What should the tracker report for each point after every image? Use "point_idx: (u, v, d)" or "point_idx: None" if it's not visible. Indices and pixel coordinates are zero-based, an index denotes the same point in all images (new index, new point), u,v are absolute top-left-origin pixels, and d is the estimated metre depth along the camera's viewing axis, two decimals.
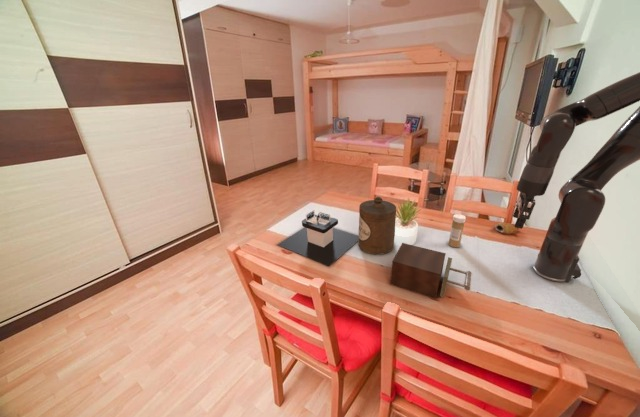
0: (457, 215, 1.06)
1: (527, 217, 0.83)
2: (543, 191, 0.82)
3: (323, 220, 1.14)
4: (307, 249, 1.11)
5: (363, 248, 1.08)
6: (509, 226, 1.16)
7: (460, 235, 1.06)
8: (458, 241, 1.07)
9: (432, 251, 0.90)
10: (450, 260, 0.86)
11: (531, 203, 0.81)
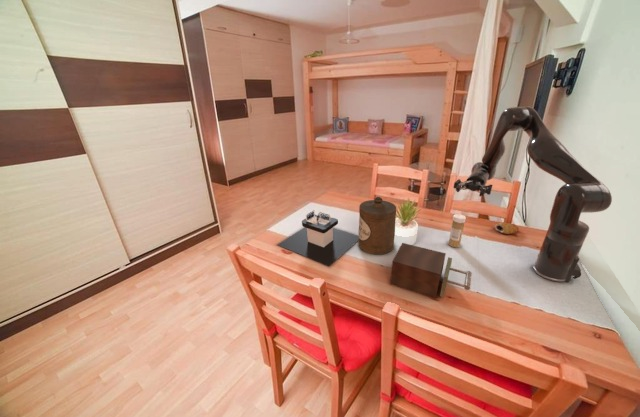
0: (457, 215, 1.06)
1: None
2: (470, 175, 1.18)
3: (323, 220, 1.14)
4: (307, 249, 1.11)
5: (363, 248, 1.08)
6: (509, 226, 1.16)
7: (460, 235, 1.06)
8: (458, 241, 1.07)
9: (432, 251, 0.90)
10: (450, 260, 0.86)
11: None
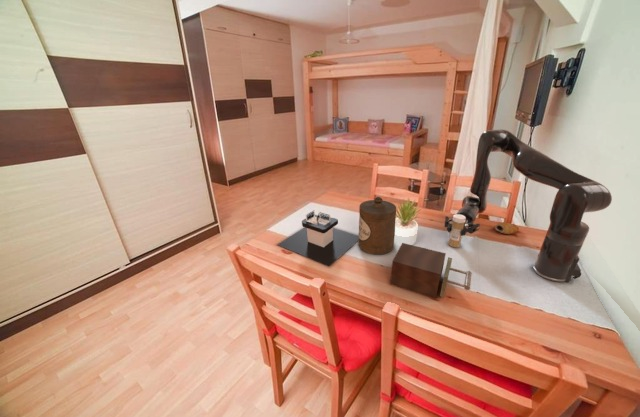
0: (457, 215, 1.06)
1: None
2: (459, 212, 1.15)
3: (323, 220, 1.14)
4: (307, 249, 1.11)
5: (363, 248, 1.08)
6: (509, 226, 1.16)
7: (460, 235, 1.06)
8: (458, 241, 1.07)
9: (432, 251, 0.90)
10: (450, 260, 0.86)
11: None
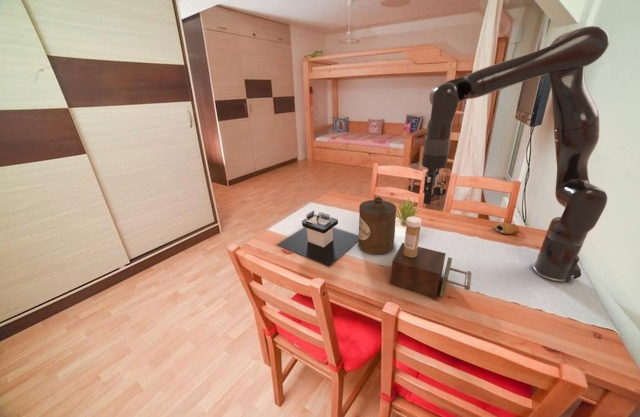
0: (411, 218, 0.84)
1: (429, 191, 0.83)
2: (442, 164, 0.82)
3: (323, 220, 1.14)
4: (307, 249, 1.11)
5: (363, 248, 1.08)
6: (509, 226, 1.16)
7: (415, 243, 0.85)
8: (413, 250, 0.86)
9: (432, 251, 0.90)
10: (450, 260, 0.86)
11: (430, 178, 0.81)
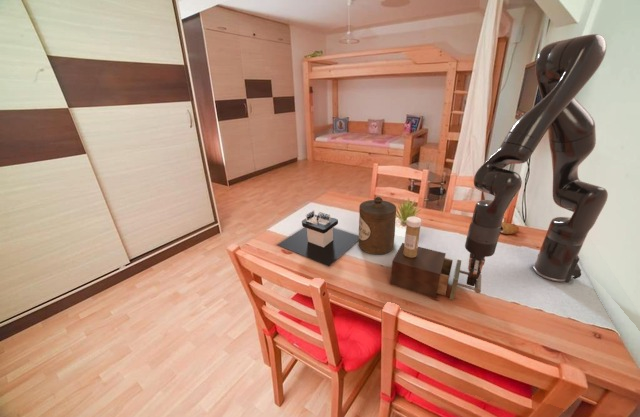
0: (411, 218, 0.84)
1: (475, 277, 0.77)
2: (491, 252, 0.73)
3: (323, 220, 1.14)
4: (307, 249, 1.11)
5: (363, 248, 1.08)
6: (509, 226, 1.16)
7: (415, 243, 0.85)
8: (413, 250, 0.86)
9: (432, 251, 0.90)
10: (459, 262, 0.85)
11: (476, 273, 0.74)
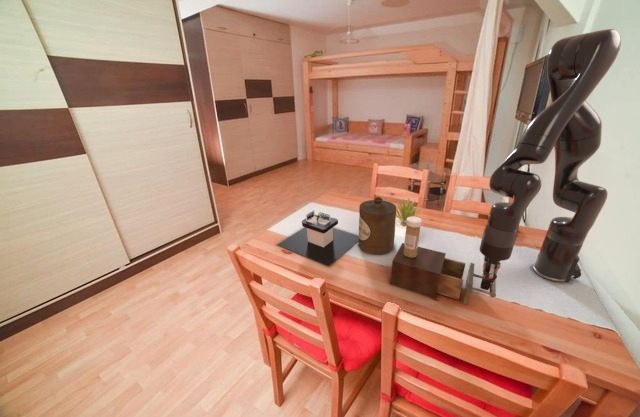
0: (411, 218, 0.84)
1: (491, 281, 0.75)
2: (507, 255, 0.71)
3: (323, 220, 1.14)
4: (307, 248, 1.11)
5: (363, 248, 1.08)
6: None
7: (415, 243, 0.85)
8: (413, 250, 0.86)
9: (432, 251, 0.90)
10: (473, 266, 0.83)
11: (492, 277, 0.72)
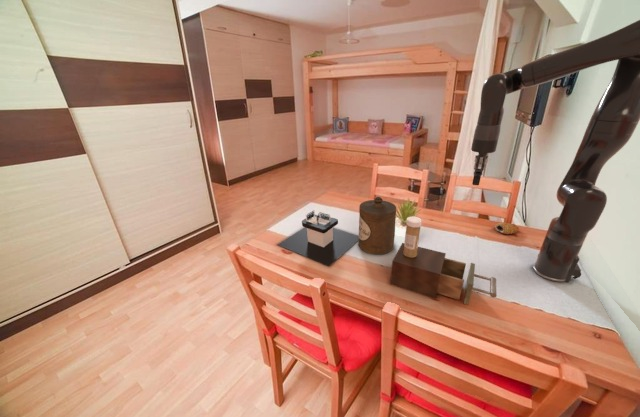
0: (411, 218, 0.84)
1: (480, 173, 0.93)
2: (493, 148, 0.89)
3: (323, 220, 1.14)
4: (307, 248, 1.11)
5: (363, 248, 1.08)
6: (509, 226, 1.16)
7: (415, 243, 0.85)
8: (413, 250, 0.86)
9: (432, 251, 0.90)
10: (473, 266, 0.83)
11: (480, 166, 0.90)
